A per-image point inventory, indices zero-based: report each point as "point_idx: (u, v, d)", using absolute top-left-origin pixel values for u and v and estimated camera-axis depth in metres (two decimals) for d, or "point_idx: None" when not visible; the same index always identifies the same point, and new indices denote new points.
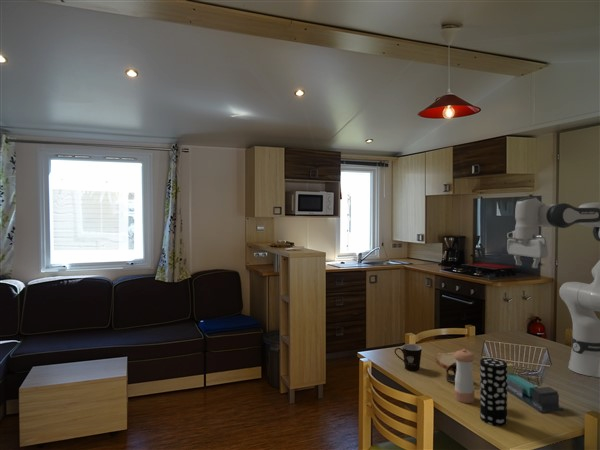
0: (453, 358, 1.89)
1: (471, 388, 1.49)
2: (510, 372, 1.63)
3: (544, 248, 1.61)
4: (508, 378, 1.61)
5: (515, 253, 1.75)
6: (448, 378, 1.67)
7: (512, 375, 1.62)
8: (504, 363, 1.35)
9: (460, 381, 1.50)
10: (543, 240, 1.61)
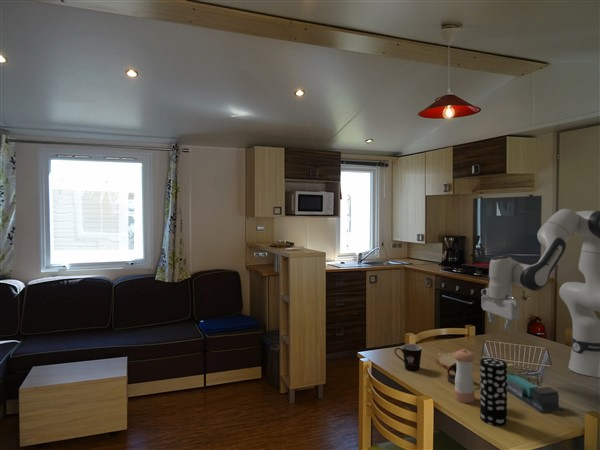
0: (453, 358, 1.89)
1: (471, 388, 1.49)
2: (510, 372, 1.63)
3: (516, 310, 1.60)
4: (508, 378, 1.61)
5: (489, 310, 1.73)
6: (449, 378, 1.66)
7: (512, 375, 1.62)
8: (504, 363, 1.35)
9: (460, 381, 1.50)
10: (515, 302, 1.60)
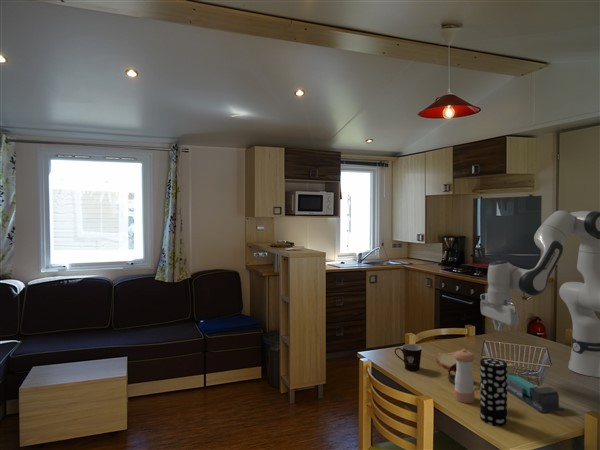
0: (453, 358, 1.89)
1: (471, 388, 1.49)
2: (510, 372, 1.63)
3: (515, 316, 1.60)
4: (508, 378, 1.61)
5: (488, 315, 1.73)
6: (450, 378, 1.66)
7: (512, 375, 1.62)
8: (504, 363, 1.35)
9: (460, 381, 1.50)
10: (514, 308, 1.59)
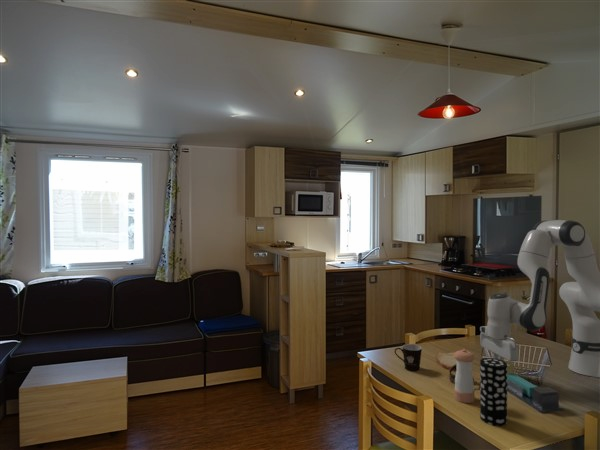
0: (454, 358, 1.89)
1: (471, 388, 1.49)
2: (510, 372, 1.63)
3: (514, 351, 1.60)
4: (508, 378, 1.61)
5: (488, 348, 1.74)
6: (451, 379, 1.66)
7: (512, 375, 1.62)
8: (504, 363, 1.35)
9: (460, 381, 1.50)
10: (513, 343, 1.60)
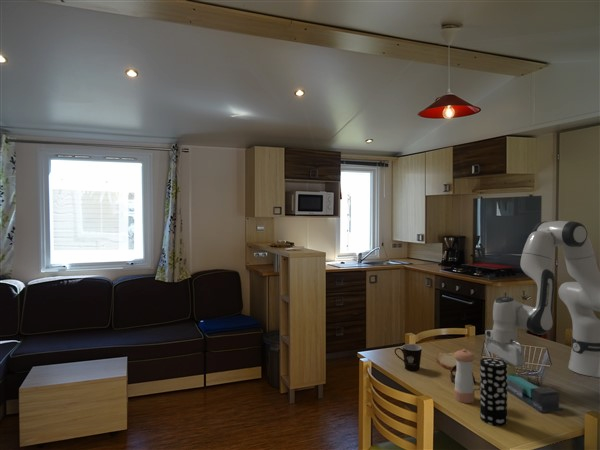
0: (454, 358, 1.89)
1: (471, 388, 1.49)
2: (511, 372, 1.62)
3: (521, 356, 1.56)
4: (509, 379, 1.61)
5: (493, 352, 1.70)
6: (452, 379, 1.66)
7: (513, 375, 1.61)
8: (504, 363, 1.35)
9: (460, 381, 1.50)
10: (520, 348, 1.56)
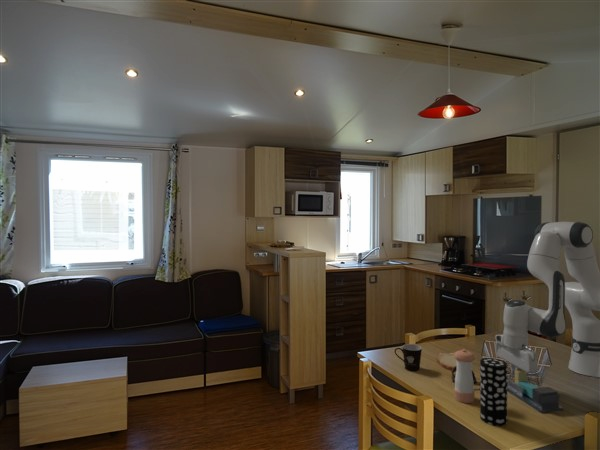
0: (454, 358, 1.89)
1: (471, 388, 1.49)
2: (523, 379, 1.56)
3: (533, 363, 1.50)
4: (520, 385, 1.55)
5: (504, 358, 1.64)
6: (454, 379, 1.66)
7: (524, 382, 1.55)
8: (504, 363, 1.35)
9: (460, 381, 1.50)
10: (532, 354, 1.50)
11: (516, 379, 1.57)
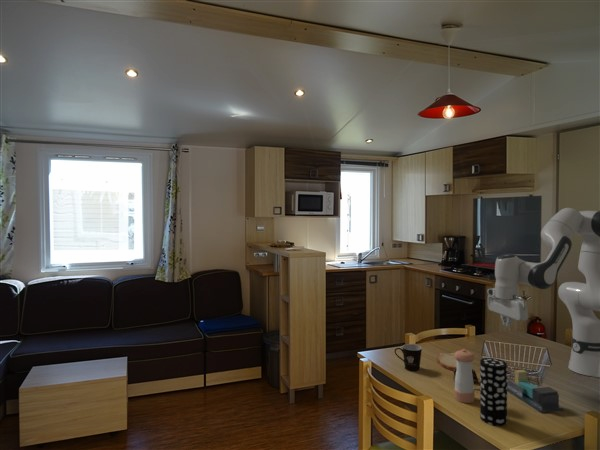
0: None
1: (471, 388, 1.49)
2: (523, 379, 1.56)
3: (524, 311, 1.55)
4: (520, 385, 1.55)
5: (496, 311, 1.69)
6: None
7: (524, 382, 1.55)
8: (504, 363, 1.35)
9: (460, 381, 1.50)
10: (523, 303, 1.55)
11: (516, 379, 1.57)
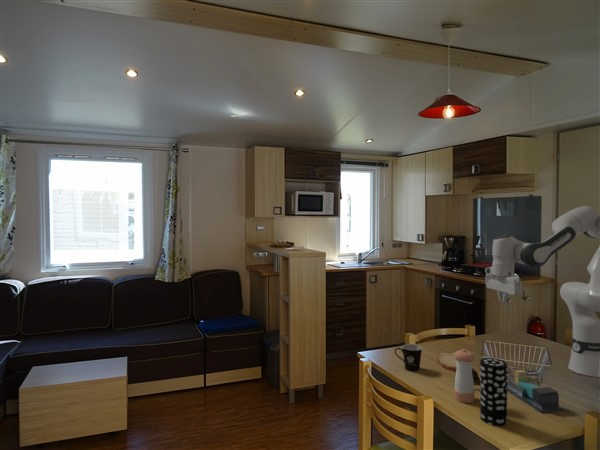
0: None
1: (471, 388, 1.49)
2: (523, 379, 1.56)
3: (518, 286, 1.69)
4: (520, 385, 1.55)
5: (493, 288, 1.82)
6: None
7: (524, 382, 1.55)
8: (504, 363, 1.35)
9: (460, 381, 1.50)
10: (517, 278, 1.68)
11: (516, 379, 1.57)
